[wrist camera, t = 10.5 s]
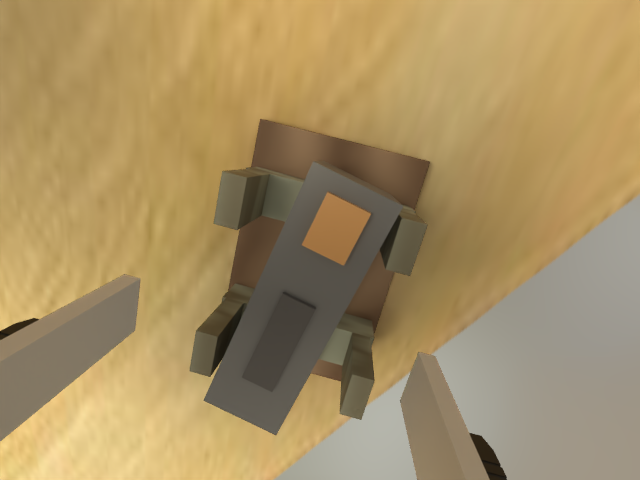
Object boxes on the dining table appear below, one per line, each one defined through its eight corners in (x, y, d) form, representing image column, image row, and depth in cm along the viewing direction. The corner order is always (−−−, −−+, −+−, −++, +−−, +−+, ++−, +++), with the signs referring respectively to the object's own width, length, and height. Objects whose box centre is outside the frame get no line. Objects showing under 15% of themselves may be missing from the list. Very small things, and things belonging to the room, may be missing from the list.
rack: (222, 339, 31) (171, 411, 22) (264, 120, 25) (218, 100, 17) (356, 377, 30) (358, 465, 21) (426, 161, 25) (465, 162, 16)
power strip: (236, 346, 26) (199, 406, 20) (323, 161, 22) (312, 161, 16) (293, 373, 26) (274, 442, 20) (390, 194, 22) (405, 207, 16)
